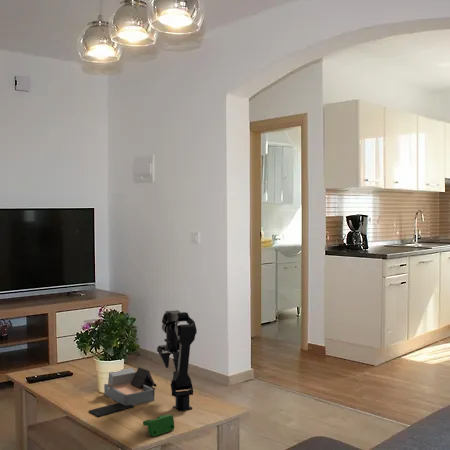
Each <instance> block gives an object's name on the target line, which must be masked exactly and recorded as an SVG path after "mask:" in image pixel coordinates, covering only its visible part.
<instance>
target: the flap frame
mask: <svg viewBox="0 0 450 450" xmlns="http://www.w3.org/2000/svg"><path fill="white" fill-rule="evenodd" d="M103 385H104V386H103V387H104V389H103V391H104V392H103V393H104V394H103V395H104V396H106V397H108V398H109V399H111V400H113V401H114V402H116V403H121V404H123V405H124V406H128V405H132V406H136V405H141V404H146V403H149V402H153V401H155V390H154V389H152V388H150V387H148V386H146V385H144V384H142V385H143V388H142V389H143V390H144V391H142V392H138V393H133V394H128V395H126V394H124V393H122V392H120V391H118V390H117V389H115V388H113V387H111V386H109V385H108V383H104V384H103Z"/></svg>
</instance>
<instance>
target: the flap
mask: <svg viewBox="0 0 450 450" xmlns="http://www.w3.org/2000/svg"><path fill="white" fill-rule="evenodd" d="M120 370H121V371H118V370H117V371H118V372H113V371H109V372H108V377H107V384H108V385H109V386H111V387H113V388H115V389H117V390H118V391H120V392H122V393H124V394H126V395H128V394H133V393H138V392H142V391H144V390H143V389H142V388H138V387H135V386H133V385H130V384H131V382H132V380H133V378H134V376H135V374H136V372H137V370H136V371H135V369H133V367H129V368H124V369H120Z"/></svg>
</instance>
